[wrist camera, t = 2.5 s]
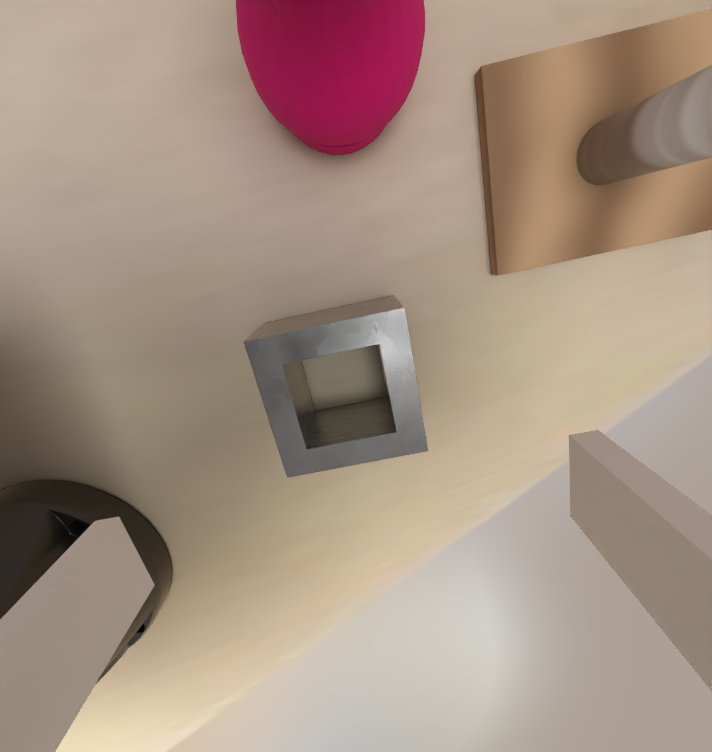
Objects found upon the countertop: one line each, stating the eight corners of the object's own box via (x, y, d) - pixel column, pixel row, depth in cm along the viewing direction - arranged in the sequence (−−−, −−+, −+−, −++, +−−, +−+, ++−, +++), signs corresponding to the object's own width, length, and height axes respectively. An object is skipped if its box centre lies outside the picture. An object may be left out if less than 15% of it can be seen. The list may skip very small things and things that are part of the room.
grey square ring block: (299, 434, 25) (287, 477, 20) (266, 322, 23) (243, 341, 18) (413, 412, 25) (428, 450, 20) (392, 295, 22) (404, 307, 17)
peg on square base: (491, 274, 22) (581, 290, 13) (474, 75, 19) (579, -73, 10) (697, 229, 21) (932, 216, 13) (718, 15, 18) (1051, -198, 9)
